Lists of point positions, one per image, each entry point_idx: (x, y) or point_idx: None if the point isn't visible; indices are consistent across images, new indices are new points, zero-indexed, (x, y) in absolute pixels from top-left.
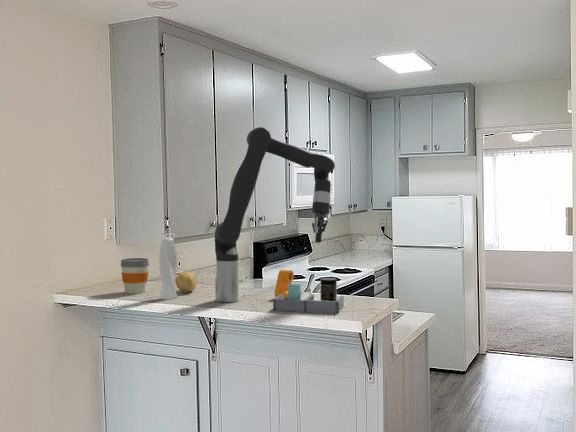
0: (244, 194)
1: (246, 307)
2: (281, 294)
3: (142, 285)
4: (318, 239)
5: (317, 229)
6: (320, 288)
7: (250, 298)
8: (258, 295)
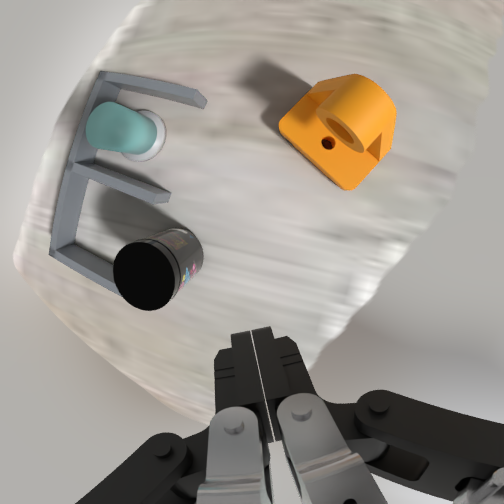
0: None
1: (176, 13)
2: (171, 88)
3: None
4: (215, 364)
5: (221, 456)
6: (159, 235)
7: (324, 22)
8: (380, 54)
